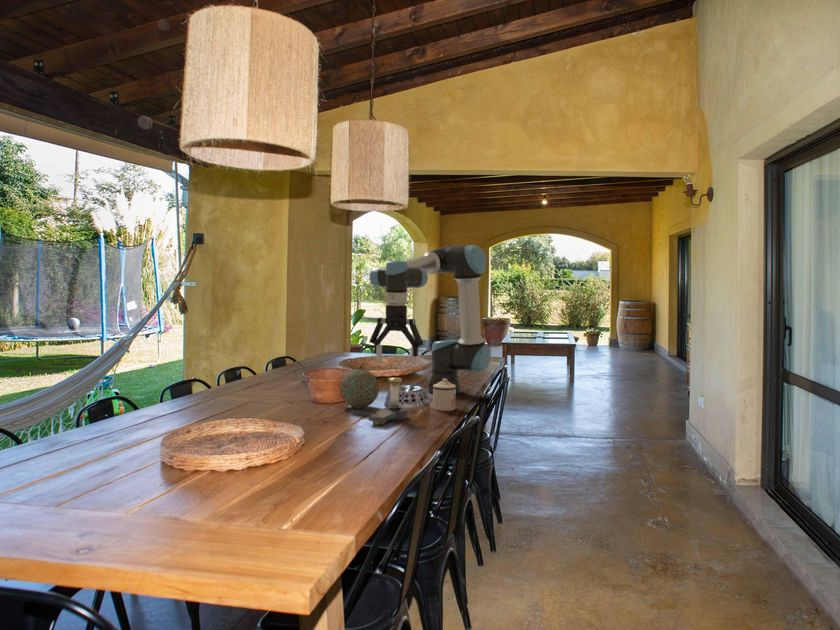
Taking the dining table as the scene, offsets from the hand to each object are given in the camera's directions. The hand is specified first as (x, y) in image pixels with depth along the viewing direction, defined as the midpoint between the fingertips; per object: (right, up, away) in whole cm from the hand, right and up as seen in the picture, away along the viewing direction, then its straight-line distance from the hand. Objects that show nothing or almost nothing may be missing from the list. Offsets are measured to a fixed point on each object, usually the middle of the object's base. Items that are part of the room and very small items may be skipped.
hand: (395, 364), depth 212 cm
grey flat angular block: (-8, -19, -1) cm, 21 cm away
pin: (-1, -19, +1) cm, 19 cm away
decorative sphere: (-15, -18, +17) cm, 29 cm away
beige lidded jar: (+18, -19, +19) cm, 32 cm away
